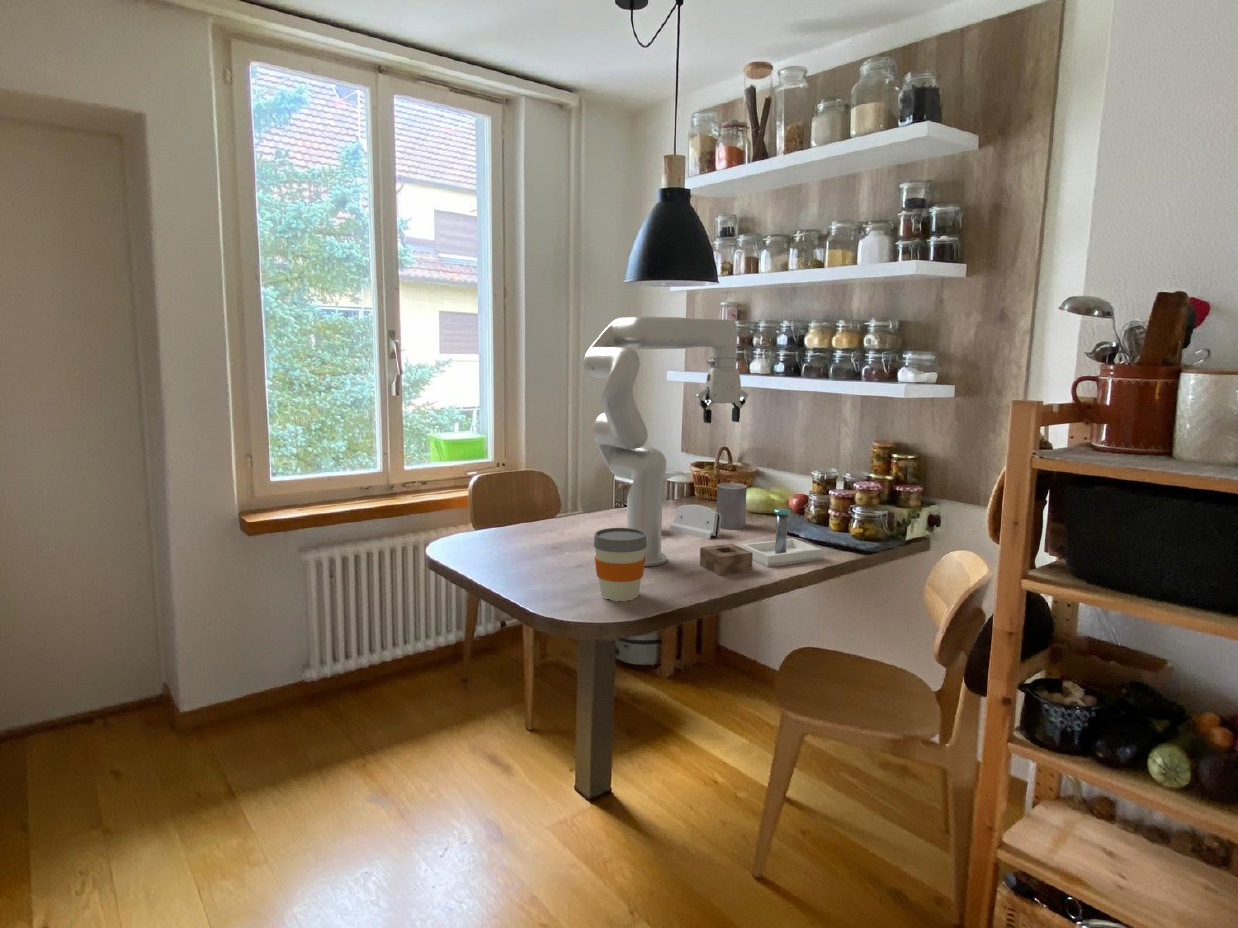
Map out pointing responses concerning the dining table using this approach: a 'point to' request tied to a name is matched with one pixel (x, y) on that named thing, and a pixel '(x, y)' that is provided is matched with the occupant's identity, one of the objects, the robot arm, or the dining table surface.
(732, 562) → the socket block
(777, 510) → the steel pin
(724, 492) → the pillar candle
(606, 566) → the reusable coffee cup
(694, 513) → the hinge
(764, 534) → the dining table surface
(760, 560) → the tray
